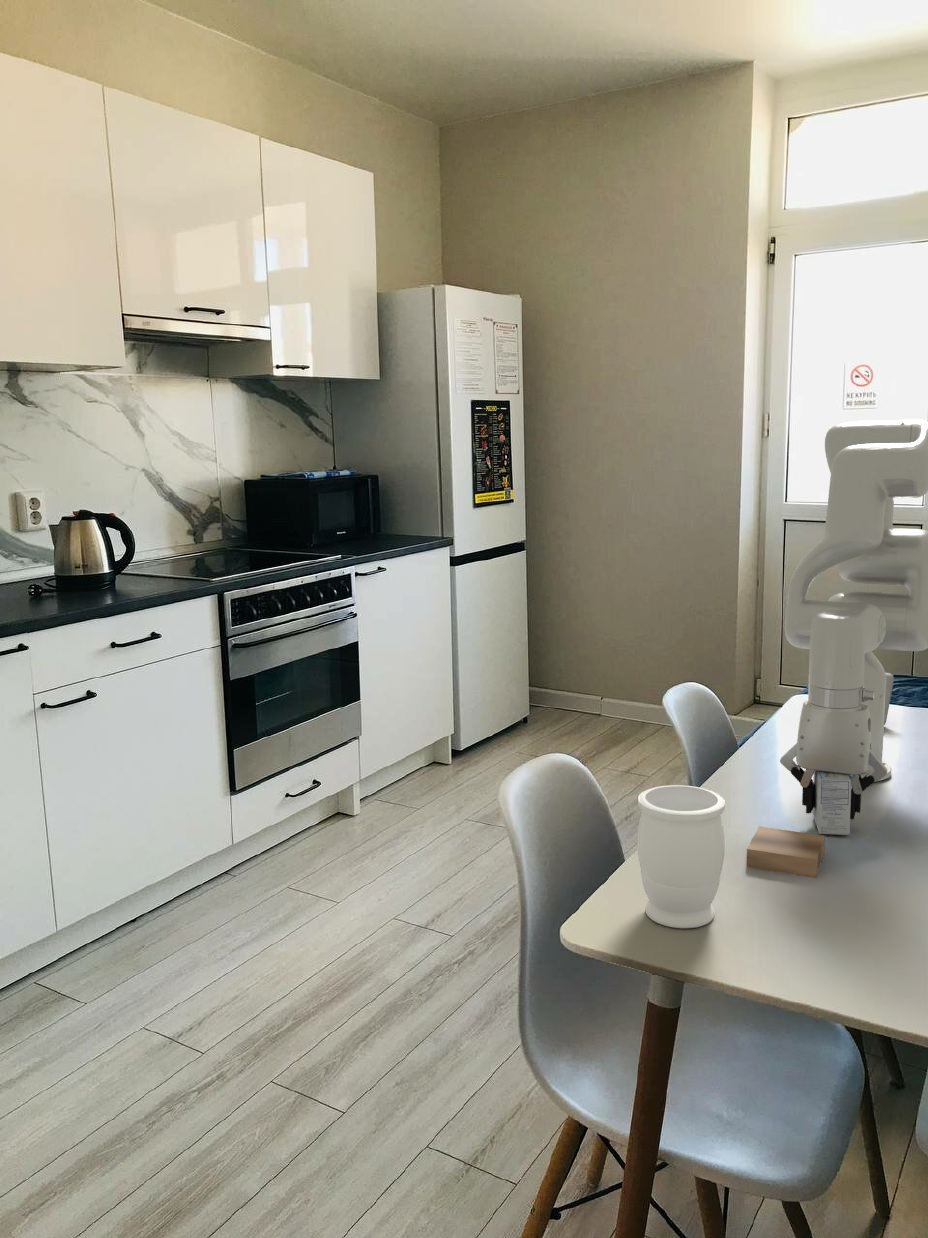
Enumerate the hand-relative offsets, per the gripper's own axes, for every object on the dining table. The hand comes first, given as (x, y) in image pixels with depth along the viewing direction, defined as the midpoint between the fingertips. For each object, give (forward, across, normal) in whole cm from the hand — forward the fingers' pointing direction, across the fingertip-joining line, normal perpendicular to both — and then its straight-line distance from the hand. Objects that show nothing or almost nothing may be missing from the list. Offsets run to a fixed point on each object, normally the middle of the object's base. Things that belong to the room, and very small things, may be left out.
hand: (830, 812), depth 150 cm
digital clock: (+4, +4, -63) cm, 63 cm away
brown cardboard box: (+3, +4, +15) cm, 15 cm away
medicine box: (+2, 0, 0) cm, 2 cm away
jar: (+2, +13, +37) cm, 39 cm away
